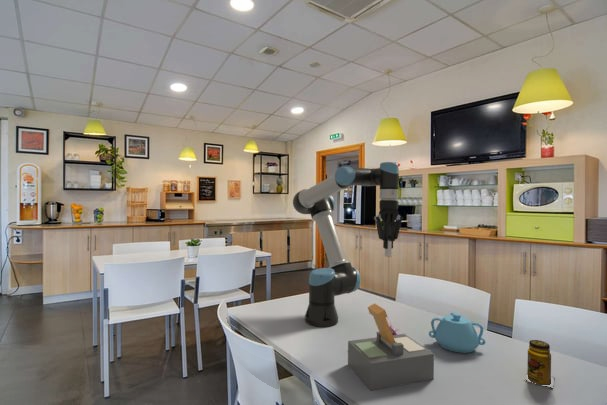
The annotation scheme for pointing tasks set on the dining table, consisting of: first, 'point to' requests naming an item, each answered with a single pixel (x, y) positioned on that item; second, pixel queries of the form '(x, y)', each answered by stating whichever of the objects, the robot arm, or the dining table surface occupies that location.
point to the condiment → (539, 363)
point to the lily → (394, 332)
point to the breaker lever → (382, 324)
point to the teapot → (457, 333)
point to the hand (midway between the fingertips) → (388, 256)
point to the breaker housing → (390, 361)
